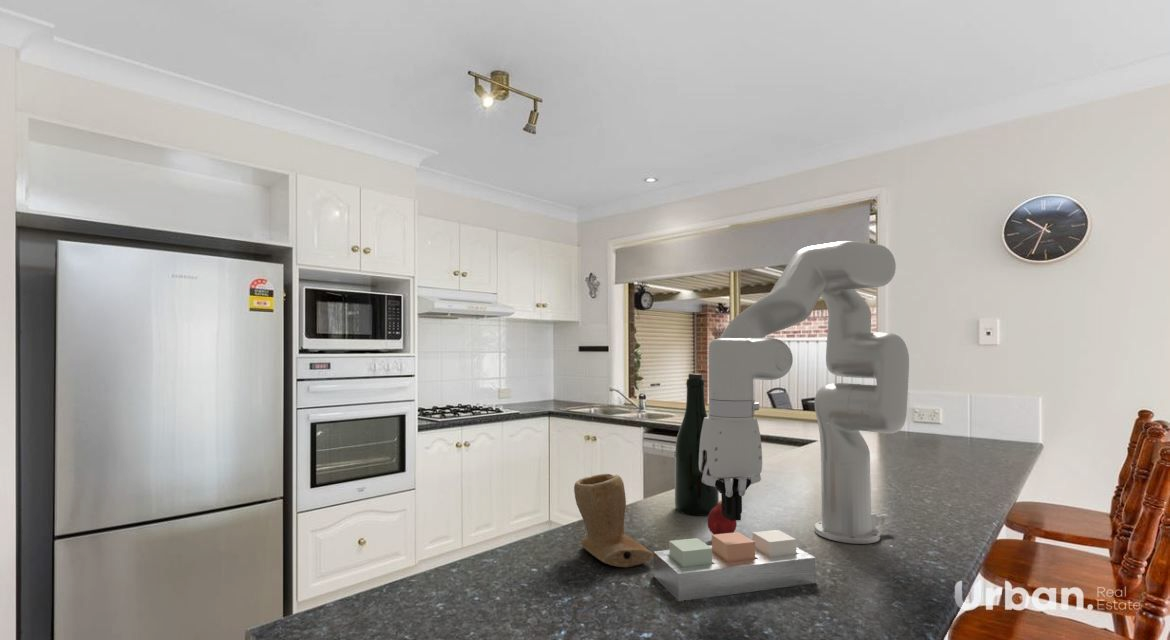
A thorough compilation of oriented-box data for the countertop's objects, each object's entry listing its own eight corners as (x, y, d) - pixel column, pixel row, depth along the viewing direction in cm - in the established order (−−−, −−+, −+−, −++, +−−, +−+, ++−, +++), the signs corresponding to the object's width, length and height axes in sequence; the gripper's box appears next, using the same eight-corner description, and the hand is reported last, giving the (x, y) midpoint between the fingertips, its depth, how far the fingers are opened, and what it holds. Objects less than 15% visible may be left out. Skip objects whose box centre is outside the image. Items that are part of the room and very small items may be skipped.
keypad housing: (779, 561, 104) (779, 538, 104) (815, 582, 94) (815, 557, 95) (653, 576, 97) (653, 551, 97) (678, 601, 88) (678, 573, 88)
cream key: (778, 546, 101) (777, 529, 102) (796, 557, 96) (796, 539, 97) (752, 549, 100) (752, 532, 100) (770, 560, 95) (769, 542, 95)
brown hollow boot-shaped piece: (566, 547, 112) (566, 470, 112) (621, 540, 116) (621, 466, 116) (593, 576, 97) (593, 488, 98) (655, 567, 102) (654, 482, 102)
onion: (737, 546, 112) (737, 505, 112) (707, 544, 113) (707, 503, 113) (735, 536, 118) (735, 497, 118) (707, 534, 119) (707, 496, 119)
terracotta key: (738, 549, 99) (738, 532, 99) (755, 560, 94) (755, 541, 94) (711, 552, 98) (711, 534, 98) (727, 563, 93) (727, 544, 93)
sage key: (697, 555, 97) (697, 538, 97) (712, 567, 92) (711, 548, 92) (669, 558, 96) (669, 540, 96) (682, 570, 91) (682, 551, 91)
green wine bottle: (686, 501, 144) (685, 372, 146) (725, 508, 138) (723, 373, 140) (667, 511, 136) (666, 373, 137) (708, 519, 130) (706, 374, 131)
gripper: (756, 407, 103) (757, 509, 102) (681, 408, 99) (681, 515, 98) (781, 411, 96) (783, 521, 95) (701, 413, 92) (702, 528, 91)
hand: (731, 518), depth 96 cm, fingers closed
